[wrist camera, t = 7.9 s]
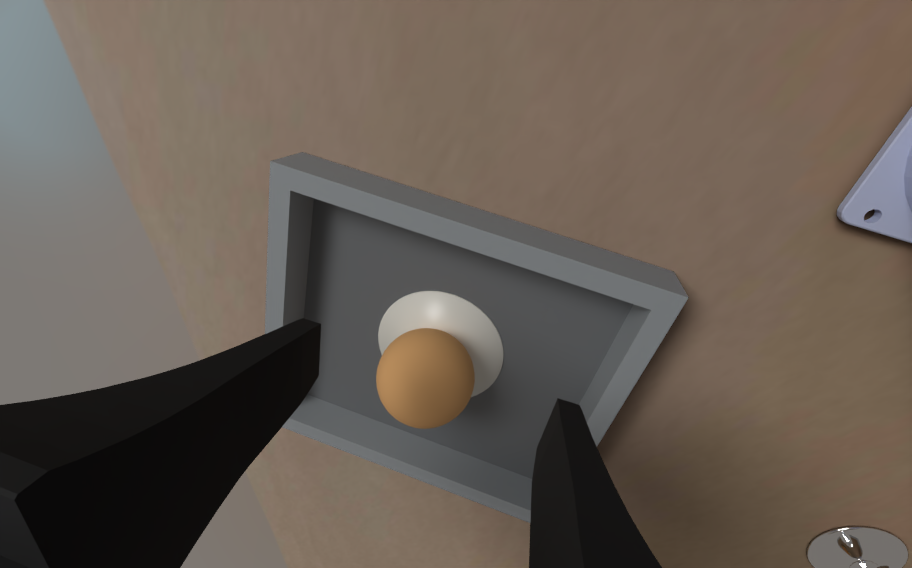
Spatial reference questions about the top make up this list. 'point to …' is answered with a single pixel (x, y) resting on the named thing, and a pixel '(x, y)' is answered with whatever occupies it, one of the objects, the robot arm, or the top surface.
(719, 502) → the top surface
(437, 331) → the ball
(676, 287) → the grey serving tray
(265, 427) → the robot arm
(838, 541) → the wineglass
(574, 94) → the top surface
